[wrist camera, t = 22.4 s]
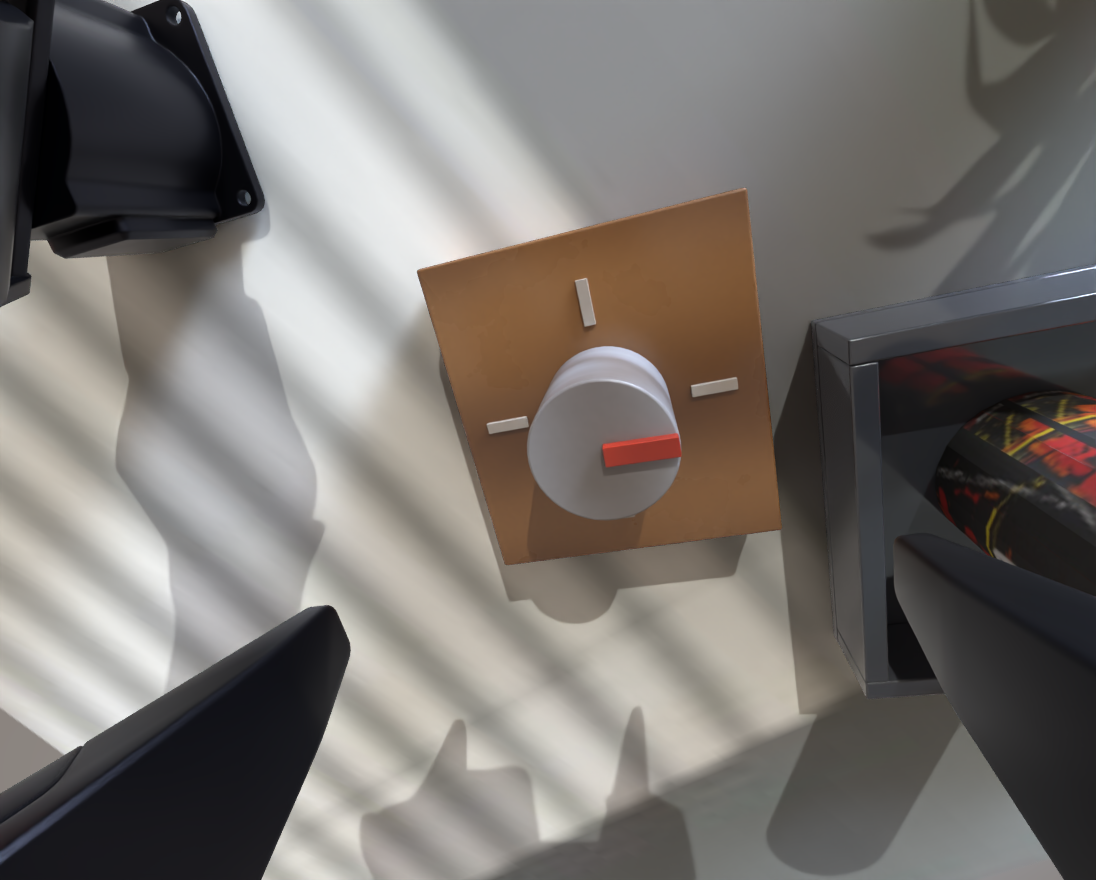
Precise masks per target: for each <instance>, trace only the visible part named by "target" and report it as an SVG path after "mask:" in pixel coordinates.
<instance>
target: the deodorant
mask: <svg viewBox="0 0 1096 880" xmlns="http://www.w3.org/2000/svg"><path fill="white" fill-rule="evenodd" d="M935 488H936V494H937V499H938V503H939V505H940V507H941V509H942V510H943V512H944V514H945V516H946V517H947V519H948V520H949V521H951V522H952V523H953V524H954V525H955V526H956V527H957V528H958V529H959V530H960V531H962V532H963V533H964V534H965V535H966V536H967V537H968V538H969V539H970V540H971V541H973V542H974V543H975V544H976V545H977V546H978V547H979V548H980V549H981V550H982V551H984V552H985V553H986V554H987V555H988V556H991V557H993V558H996V559H999V560H1001V561H1004V562H1006V563H1009V564H1012V565H1014V566H1017V567H1020V568H1022V569H1025V570H1027V571H1030V572H1033V573H1035V574H1038V575H1041V576H1043V577H1046V578H1048V579H1051V580H1054V581H1056V582H1059V583H1062V584H1064V585H1067V586H1069V587H1072V588H1075V589H1077V590H1080V591H1083V592H1085V593H1088V594H1090V595H1093V596H1096V399H1095V398H1092V397H1089V396H1086V395H1084V394H1080V393H1074V392H1068V391H1062V390H1046V391H1032V392H1028V393H1025V394H1021V395H1017V396H1014V397H1010V398H1006V399H1004V400H1002V401H1000V402H998V403H996V404H994V405H992V406H990V407H988V408H986V409H984V410H983V411H981V412H980V413H979V414H977V415H976V416H975V417H973V418H972V419H971V420H970V421H968V422H967V423H966V424H965V425H963V426H962V427H961V428H960V430H959V431H958V432H957V433H956V435H955V436H954V437H953V438H952V440H951V441H950V442H949V443H948V444H947V446H946V448H945V450H944V452H943V455H942V457H941V459H940V461H939V463H938V467H937V473H936V480H935Z"/></svg>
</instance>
